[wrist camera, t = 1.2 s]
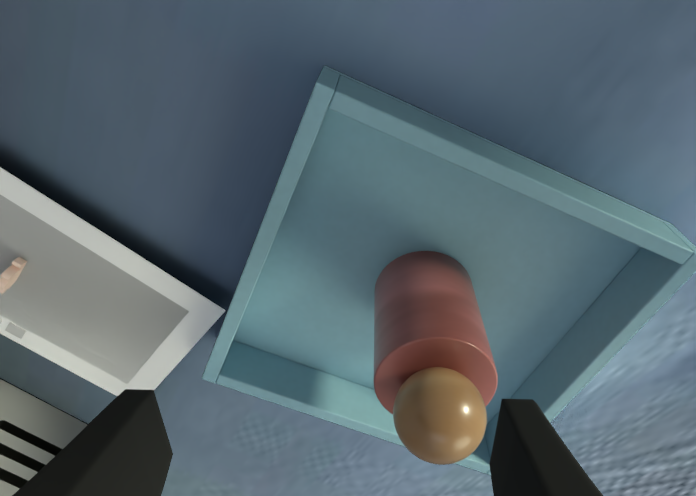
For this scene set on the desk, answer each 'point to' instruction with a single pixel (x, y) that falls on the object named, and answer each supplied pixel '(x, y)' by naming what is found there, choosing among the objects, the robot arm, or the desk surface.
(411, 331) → the peg doll
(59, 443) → the icon cube
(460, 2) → the desk surface
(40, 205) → the touchpad
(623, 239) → the baking pan
